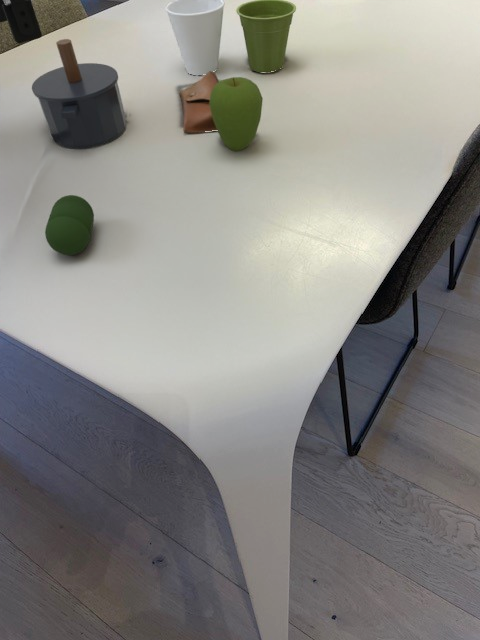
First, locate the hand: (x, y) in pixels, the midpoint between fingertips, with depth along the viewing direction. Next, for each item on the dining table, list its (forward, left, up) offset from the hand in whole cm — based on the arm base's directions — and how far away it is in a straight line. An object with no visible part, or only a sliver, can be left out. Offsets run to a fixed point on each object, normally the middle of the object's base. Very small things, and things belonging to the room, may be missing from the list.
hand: (15, 30), depth 62 cm
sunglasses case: (+21, +23, -23) cm, 39 cm away
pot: (0, +19, -23) cm, 29 cm away
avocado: (+3, -14, -23) cm, 27 cm away
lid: (0, +19, -14) cm, 24 cm away
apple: (+27, +8, -23) cm, 36 cm away
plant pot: (+35, +41, -23) cm, 59 cm away
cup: (+21, +43, -23) cm, 53 cm away
